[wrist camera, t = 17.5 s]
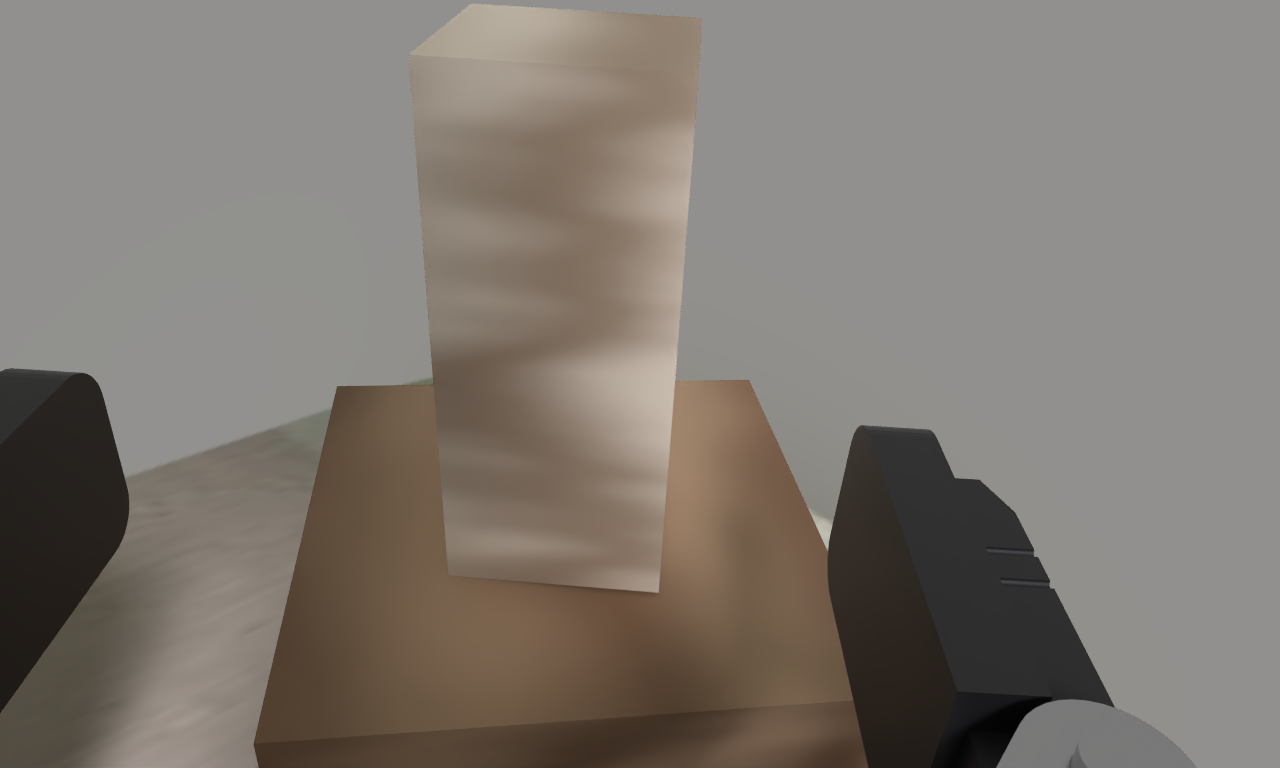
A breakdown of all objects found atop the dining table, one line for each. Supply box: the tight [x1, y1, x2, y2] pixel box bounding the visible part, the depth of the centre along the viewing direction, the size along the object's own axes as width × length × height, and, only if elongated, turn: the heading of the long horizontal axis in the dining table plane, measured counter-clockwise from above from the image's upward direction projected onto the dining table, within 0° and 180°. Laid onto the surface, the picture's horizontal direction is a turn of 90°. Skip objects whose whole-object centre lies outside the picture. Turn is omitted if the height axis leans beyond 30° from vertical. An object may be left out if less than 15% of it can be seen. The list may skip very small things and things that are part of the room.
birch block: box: [408, 4, 702, 593], centre depth 20 cm, size 5×5×11 cm
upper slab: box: [254, 380, 868, 768], centre depth 24 cm, size 12×12×4 cm
